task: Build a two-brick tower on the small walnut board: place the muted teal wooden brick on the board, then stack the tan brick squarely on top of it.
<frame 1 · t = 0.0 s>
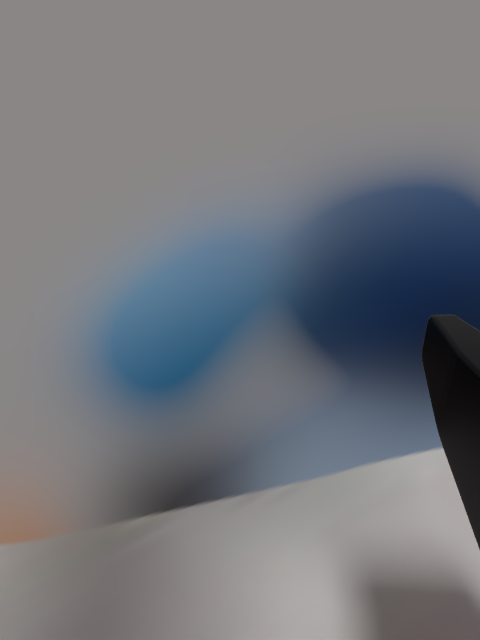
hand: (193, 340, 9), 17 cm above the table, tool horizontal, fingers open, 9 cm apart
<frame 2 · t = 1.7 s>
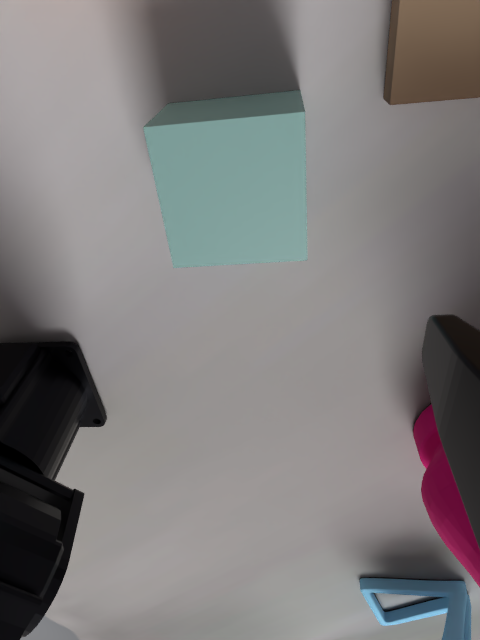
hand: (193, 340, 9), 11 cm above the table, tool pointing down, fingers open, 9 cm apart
chair: (415, 590, 39), on the table
teal brick: (240, 163, 18), on the table
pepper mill: (467, 422, 26), on the table
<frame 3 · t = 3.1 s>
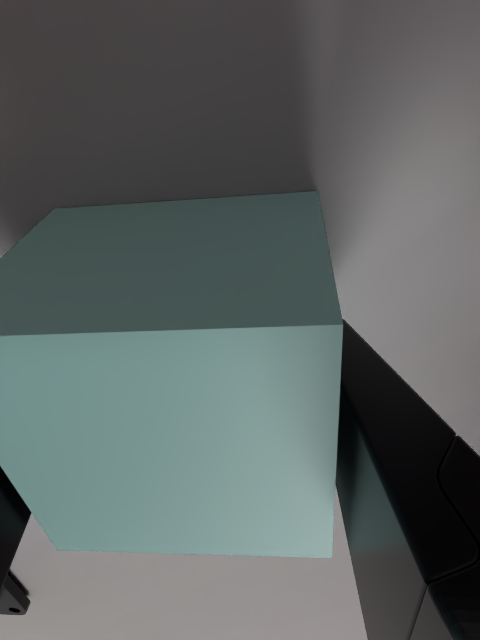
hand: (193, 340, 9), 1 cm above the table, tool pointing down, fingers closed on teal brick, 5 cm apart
teal brick: (201, 310, 10), on the table, touching gripper
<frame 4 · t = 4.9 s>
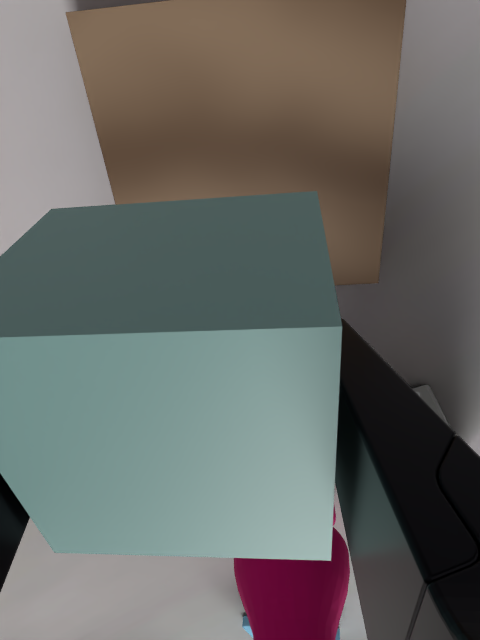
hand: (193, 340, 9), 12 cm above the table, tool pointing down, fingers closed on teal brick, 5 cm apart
teal brick: (199, 311, 10), point 11 cm above the table, touching gripper
walnut board: (246, 159, 18), on the table
skincare box: (398, 436, 28), on the table
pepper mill: (288, 494, 32), on the table
when the fingers open (3 cm above the table, at t = 6.8 s): teal brick drops 1 cm, resting on walnut board.
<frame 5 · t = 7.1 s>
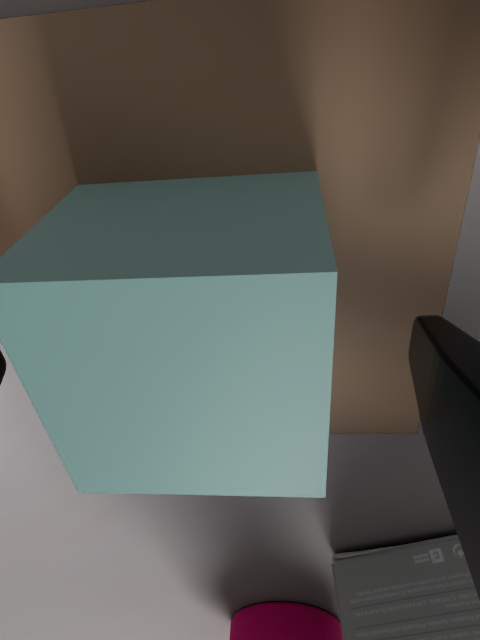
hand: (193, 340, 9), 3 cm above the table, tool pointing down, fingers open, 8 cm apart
teal brick: (208, 282, 11), point 1 cm above the table, touching walnut board
walnut board: (215, 258, 12), on the table
skincare box: (429, 575, 21), on the table
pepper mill: (285, 620, 25), on the table
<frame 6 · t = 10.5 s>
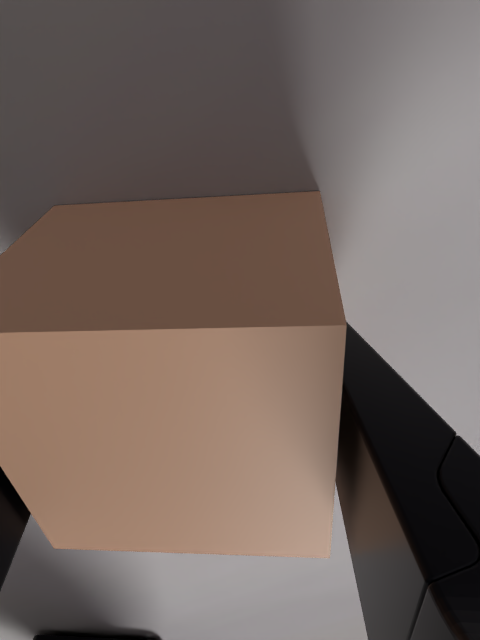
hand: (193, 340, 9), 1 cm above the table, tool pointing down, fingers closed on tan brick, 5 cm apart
tan brick: (200, 309, 10), on the table, touching gripper
when the fingers open (7 cm above the table, at t = 14.0 s): tan brick stays where it is, resting on teal brick.
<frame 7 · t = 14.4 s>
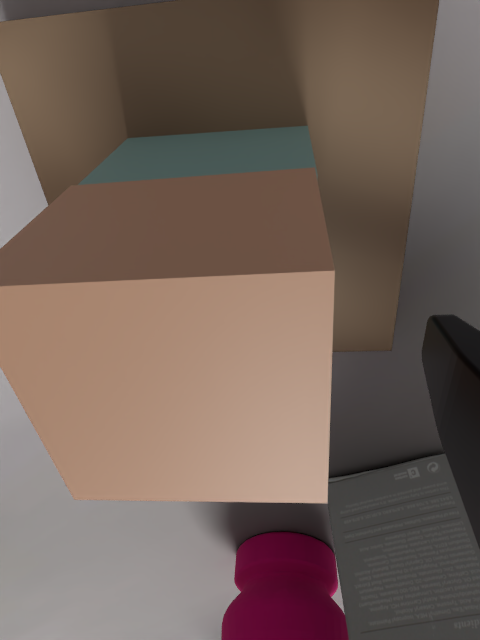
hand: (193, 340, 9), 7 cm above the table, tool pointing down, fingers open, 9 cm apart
teal brick: (225, 217, 14), point 1 cm above the table, touching tan brick, walnut board
walnut board: (229, 203, 15), on the table
tan brick: (206, 283, 10), point 5 cm above the table, touching teal brick
skincare box: (410, 501, 24), on the table
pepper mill: (285, 553, 28), on the table
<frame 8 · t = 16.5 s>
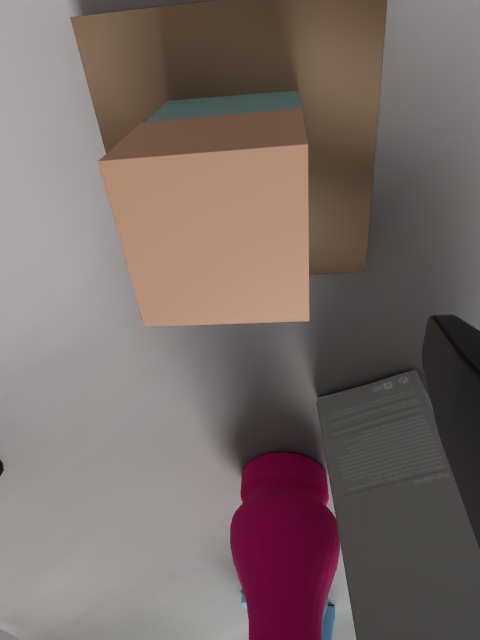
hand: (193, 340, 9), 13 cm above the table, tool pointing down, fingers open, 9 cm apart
chair: (291, 602, 46), on the table
teal brick: (238, 162, 18), point 1 cm above the table, touching tan brick, walnut board
walnut board: (240, 154, 19), on the table
tan brick: (228, 194, 15), point 5 cm above the table, touching teal brick
skincare box: (388, 419, 29), on the table
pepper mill: (283, 475, 33), on the table
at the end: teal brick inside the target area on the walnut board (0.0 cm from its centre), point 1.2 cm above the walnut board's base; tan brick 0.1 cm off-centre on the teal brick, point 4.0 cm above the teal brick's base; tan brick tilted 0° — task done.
